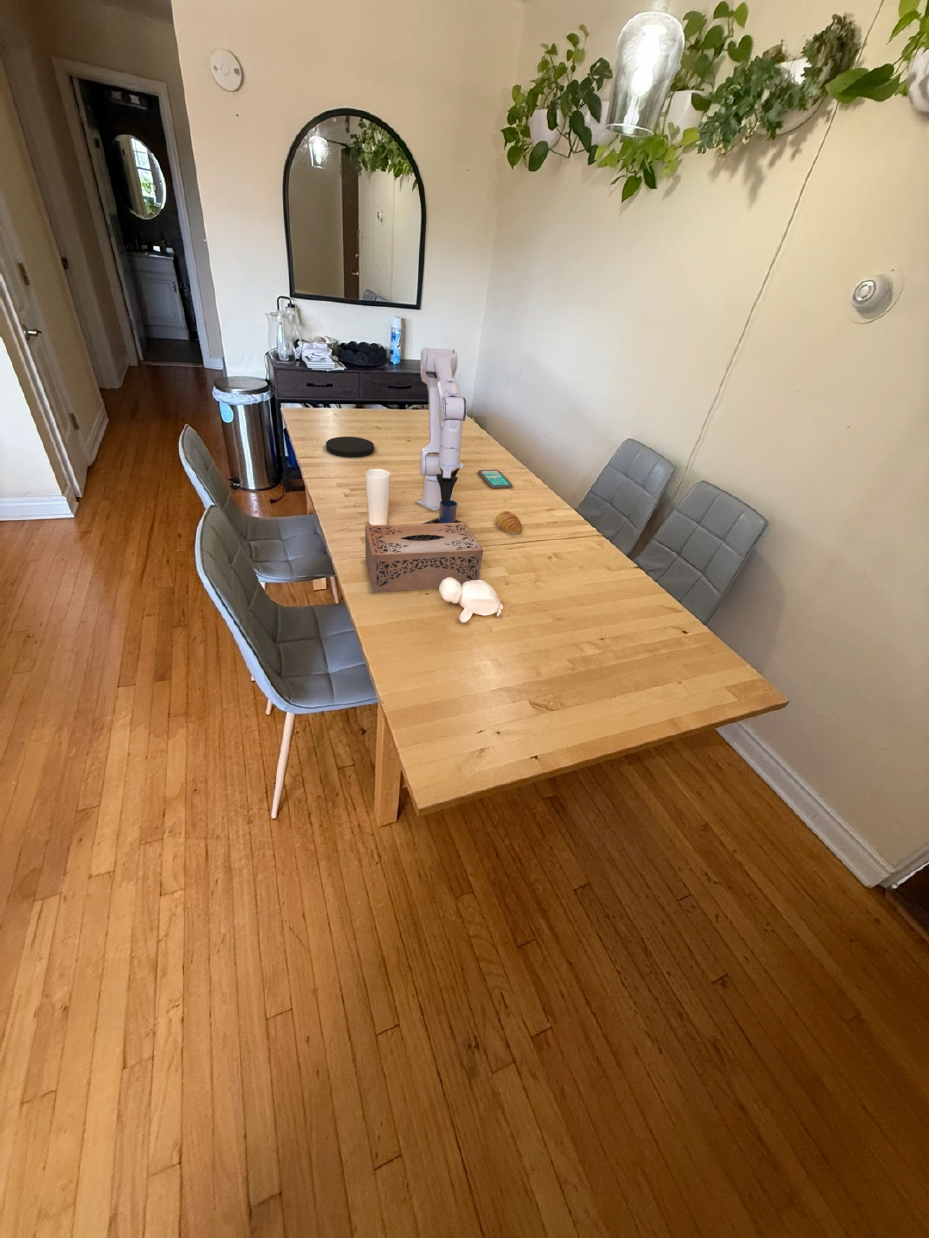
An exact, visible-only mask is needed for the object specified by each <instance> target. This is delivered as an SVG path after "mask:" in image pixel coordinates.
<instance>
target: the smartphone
mask: <svg viewBox="0 0 929 1238" xmlns="http://www.w3.org/2000/svg"><path fill="white" fill-rule="evenodd" d="M478 475H479V476H480V477H481V478H482V479H483V480H484V482H485V483H486V484H487V486H489V488H492V489H506V488H507V489H509V488H512V487H513V483H512V482H511V481H510V480H509V479H508V478H507V477H506V476H505V475H504V474H503V473H502V472H501V471H500V470H499V469H478Z"/></svg>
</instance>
